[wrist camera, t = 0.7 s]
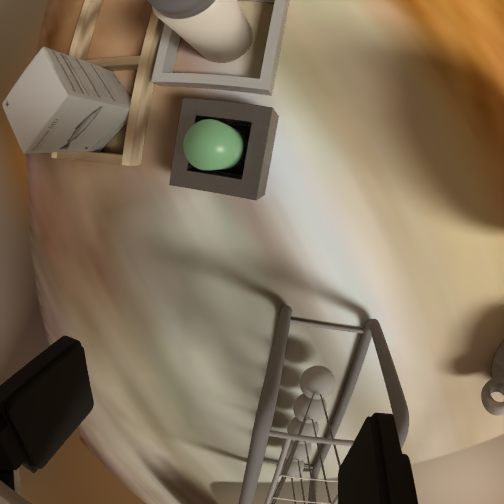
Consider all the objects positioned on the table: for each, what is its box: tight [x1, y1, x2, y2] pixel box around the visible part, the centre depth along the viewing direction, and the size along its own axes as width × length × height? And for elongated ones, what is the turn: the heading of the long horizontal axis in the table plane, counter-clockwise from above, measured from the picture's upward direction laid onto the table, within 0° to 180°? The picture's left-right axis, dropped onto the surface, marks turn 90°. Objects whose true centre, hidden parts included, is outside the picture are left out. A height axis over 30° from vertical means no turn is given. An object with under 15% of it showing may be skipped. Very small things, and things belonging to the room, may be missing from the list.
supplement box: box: [2, 47, 132, 154], centre depth 26 cm, size 7×7×13 cm
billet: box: [147, 0, 253, 63], centre depth 22 cm, size 6×6×13 cm
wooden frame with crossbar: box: [51, 0, 165, 166], centre depth 30 cm, size 23×12×2 cm, turn 170°
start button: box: [183, 119, 248, 170], centre depth 26 cm, size 4×4×6 cm
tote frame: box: [151, 0, 289, 96], centre depth 27 cm, size 12×12×2 cm
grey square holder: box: [169, 98, 279, 200], centre depth 29 cm, size 8×8×5 cm
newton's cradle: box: [239, 306, 409, 504], centre depth 30 cm, size 30×10×18 cm, turn 174°
